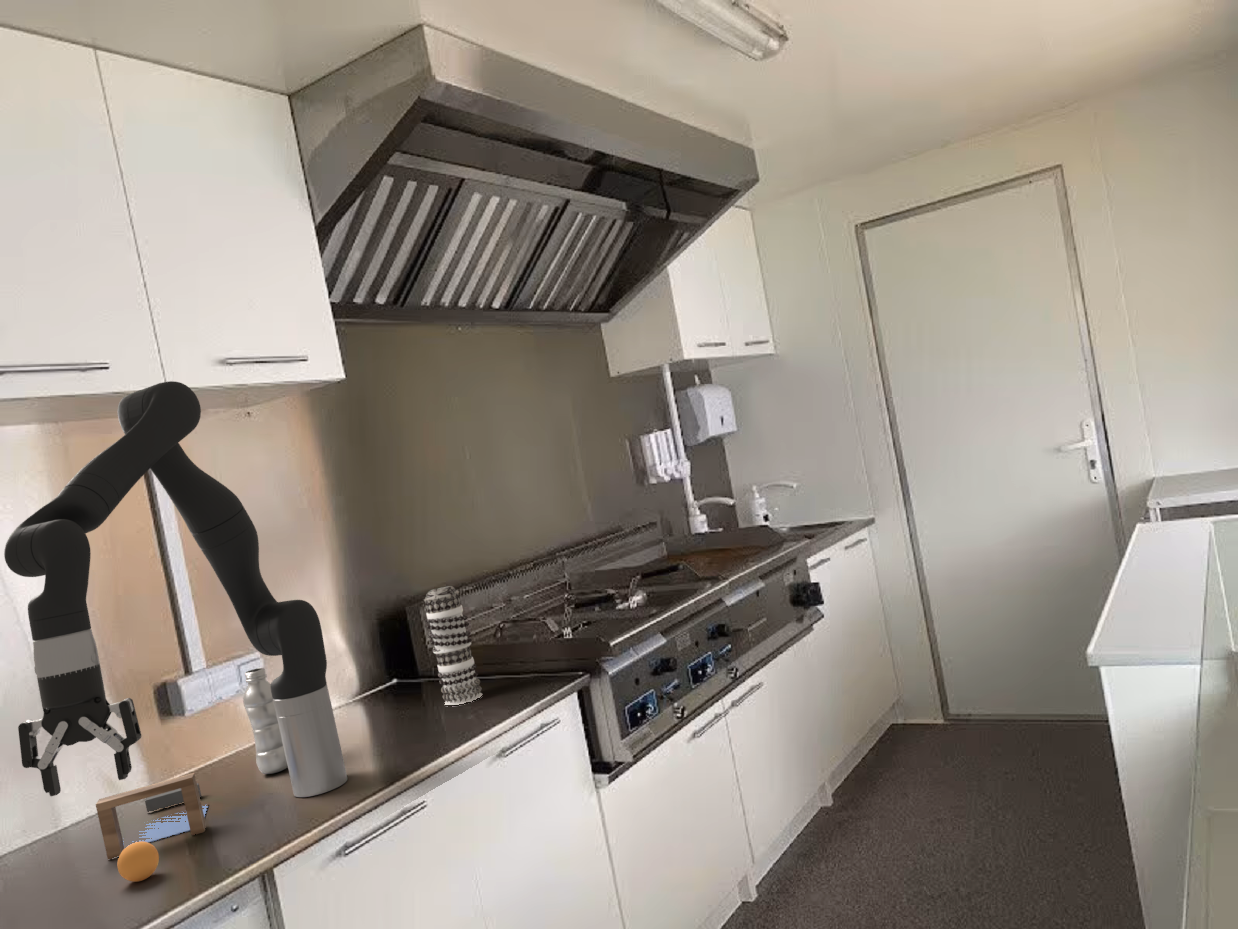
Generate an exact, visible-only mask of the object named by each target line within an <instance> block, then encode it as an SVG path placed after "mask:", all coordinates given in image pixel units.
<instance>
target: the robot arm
mask: <svg viewBox="0 0 1238 929" xmlns="http://www.w3.org/2000/svg"><path fill="white" fill-rule="evenodd" d="M117 406H118V407H117V417H118V419H117V420H118V422H119V425H120V428H121V430H122V431H123V434H124V435H122V436H121V437H120V438H119V439H118V440H116V441H115V442H114V443H113V444H111V445H110V446H109V447H107V448H106V449H104V450H103V451H101V452H100V453H98V454H97V455H96V456H94V457H93V458H92V459H91V460H90V461H89V462H87V463H86V464H85V465H84V466H82V468H80V469H79V471H77V473H76V474H75V475H74V476H73V477H72V478H71V479H70V480H69V481H68V482H67V483H66V484H65V486H64V487H63V489H61V490H60V492H59V493H58V495H56V496H55V498H53V499H51V501H49V502H48V503H46V504H45V505H44V506H42V507H40V508H39V509H38V510H37V511H35V512H34V513H33V514H31V515H30V516H28V517H27V518H26V519H25V520H24V521H22V522H21V523H20V524H19V525H18V526H17V527H16V528H15V529H14V530H13V532H11V534H10V535H9V537H8V538H7V540H6V543H5V546H4V551H3V552H4V553H3V555H4V556H3V557H4V561H5V564H6V566H7V567H8V569H9V570H11V572H13V573H14V574H16V575H18V576H21V577H25V578H37V577H42V576H45V577H44V586H43V589H42V590H43V591H42V592H41V593H40V594H38V595H36V596H34V597H33V598H31V599H30V600H29V602H28V603H27V604H28V605H27V615H28V622H29V627H30V632H31V639H32V645H33V646H32V647H33V661H34V673H35V675H36V679H37V680H36V681H37V686H38V691H39V696H40V702H41V707H42V708H41V709H42V711H43V716H42V718H41V719H34V720H33V719H26V720H25V721H23V722H21V723H20V724H19V725H18V727H17V730H18V739H19V748H20V758H21V765H22V767H23V768H25V769H29V768H35V769H38V770H39V771H40V775H41V780H42V787H43V791H44V792H45V793H46V794H49V797H55V796H58V794H60V793H61V791H62V790H61V785H60V783H61V782H60V777H59V771H58V766H57V764H54V763H55V760H56V758H57V756H58V755H59V753H60V751H61V750H62V748H63V747H64V746H67V747H68V746H73V745H76V744H77V743H87V742H91V741H93V740H94V739H97V740H99V741H101V742H102V743H103V744H106V745H107V746H109V747H110V748H111V749H112V750H114V753H113V757H114V763H115V768H116V773H117V778H118V781H123V780H125V779H127V778H128V776H129V774H130V772H132V767H133V766H132V762H131V756H130V750H129V749H130V747H131V746H132V745H135V743H137V742H138V741H139V740H140V739H142V731H141V728H140V725H139V724H140V723H139V720H138V716H137V712H136V707H135V704H134V701H133V699H132V698H130V697H128V698H125V699H123V700H121V701H117V702H114V703H111V704H110V702H108V700H107V696H106V690H105V684H104V680H103V675H102V669H101V663H100V658H99V653H98V647H97V642H96V639H95V637H94V635H93V631H92V625H91V624H92V623H91V619H90V613H89V608H88V604H87V596H88V587H89V577H90V567H91V546H90V541H89V538H88V535H87V533H91V532H93V531H95V530H96V529H98V528H99V527H100V526H101V525H102V524H104V522H105V521H106V520H107V518H108V517H110V515H111V514H112V513H113V512H114V510H115V509H116V508H117V506H118V505H119V504H120V503H121V501H123V499H124V498H125V496H126V495H127V494H128V493H129V492H130V491H131V489H132V488H133V487H134V486H135V485H136V484H137V482H139V480H141V478H142V477H143V476H144V475H145V474H146V473H147V472H148V471H149V470H151V472H152V473H153V476H155V478H156V479H157V480H158V482H159V483H160V485H161V487H162V488H163V489H164V491H165V493H166V494H167V496H168V497H169V499H170V500H171V502H172V504H173V505H174V507H175V509H176V510H177V511H178V513H179V514H180V516H181V518H182V519H183V521H184V523H185V525H186V527H187V529H188V531H189V532H190V534H191V536H192V538H193V539H194V541H195V542H196V543H197V545H198V547H199V549H200V550H201V552H202V553H203V555H204V557H205V559H207V561H208V563H209V564H210V566H211V568H212V569H213V572H214V573H215V575H216V576H217V578H218V580H219V582H220V584H221V585H222V587H223V589H224V590H225V592H226V594H227V597H228V598H229V600H230V602H231V604H232V606H233V608H234V610H235V613H236V615H237V617H238V619H239V621H240V623H241V627H242V628H243V630H244V632H245V634H246V636H247V639H248V640H249V642H250V644H251V645H252V646H253V648H254V649H255V650H256V651H258V653H260V654H262V655H264V656H270V657H271V656H272V657H274V656H275V657H276V656H281V658H282V659H281V660H282V666H283V667H282V672H281V674H279V676H278V677H276V678H275V679H273V680H272V681H271V683H270V684H271V693H272V698H273V702H274V707H275V711H276V715H277V720H278V724H279V729H280V733H281V738H282V743H283V747H284V752H285V756H286V761H287V765H288V768H287V769H288V774H289V778H290V782H291V789H292V793H293V796H294V797H297V798H307V797H313V796H317V795H321V794H324V793H327V792H330V791H332V790H335V789H337V788H339V787H340V786H341V787H342V785H344V784H345V783H346V782H347V781H348V776H347V770H346V765H345V762H344V756H343V751H342V747H341V741H340V738H339V733H338V728H337V723H336V720H335V719H336V718H335V715H334V709H333V706H332V702H331V698H330V692H329V689H328V687H329V686H328V682H327V676H326V675H327V674H326V673H327V667H328V666H327V664H328V662H327V654H326V648H325V643H324V638H323V637H324V636H323V630H322V626H321V621H320V617H319V616H318V613H317V611H316V610H315V608H314V606H313V605H312V604H311V603H310V602H308V601H306V600H302V599H291V600H284V601H277V600H276V598H275V597H274V596H273V593H271V591H270V590H269V588H268V586H267V584H266V583H265V581H264V578H263V577H262V573H261V569H260V547H259V546H260V545H259V544H260V543H259V537H258V531H257V529H256V527H255V525H254V522H253V520H252V519H251V516H250V515H249V514H248V512H247V510H246V508H245V506H244V505H243V504H242V502H241V500H240V498H239V497H238V496H237V494H235V493H234V492H233V491H232V490H231V489H229V488H228V487H227V486H225V485H224V484H223V483H221V482H220V481H219V480H217V479H216V478H215V477H212V476H211V475H210V474H208V473H206V472H205V470H203V469H201V468H200V467H199V466H197V465H196V463H194V462H193V461H192V460H191V459H190V457H189V456H188V455H187V453H186V452H185V450H184V449H183V448H182V446H181V445H180V444H181V443H180V442H181V441H183V439H185V438H186V437H187V436H189V434H191V433H192V432H193V431H194V430H195V429H196V428H197V426H199V422H200V419H201V413H202V409H201V408H202V407H201V404H200V400H199V398H198V397H197V395H196V393H195V391H193V389H191V387H189V386H188V385H186V384H184V383H182V382H179V381H173V380H172V381H171V380H170V381H163V382H159V383H156V384H153V385H151V386H148V387H145V388H143V389H139V390H137V391H134V392H132V393H129V394H126V395H125V396H124V397H122V398H121V400H120V401H119V403H118V405H117ZM112 713H114V714H115V716H116V717H117V718H119V719H121V722H122V724H123V728H124V733H125V737H124V736H122V734H120V733H118V730H116V728H115V727H114V726H112V725H111V724H110V723H108V720H109V718H110V717H111V714H112ZM41 729H43V730H44V731H46V732H47V733H48V734H49V735H50V736H51V738H50V739H49V741H48V743H47V745H46V747H45V748H44V752H43V754H42V755H41V756H40V755H39V751H38V742H37V741H38V740H37V736H39V734H40V733H41Z"/></svg>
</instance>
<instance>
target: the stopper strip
mask: <svg viewBox="0 0 1238 929" xmlns="http://www.w3.org/2000/svg"><path fill="white" fill-rule="evenodd" d="M199 783H200V782H197V787H198V791H199V796H200V797H201V798H202V792H201V787H200V784H199ZM144 799H145V800H144V802H145V808H146V813H147V812H149V811H154V810H157V809H159V808H165V807H168V806H171V805H174V804H179V803H182V802H184V800H183V795H182V791H181V788H180V789H176V790H173V791H169V792H166V793H162V794H158V795H155V796H151V797H148V798H144Z"/></svg>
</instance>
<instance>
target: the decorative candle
mask: <svg viewBox="0 0 1238 929" xmlns="http://www.w3.org/2000/svg"><path fill="white" fill-rule="evenodd" d="M459 593H460V590H457V589H456V588H455V587H454V586H452V585H447V586H441V587H437V588H434V589H431V590H429V591H427V593H426V595H425V598H423V599H422V601H424V606H425V611H426V612H425V615H426V617H425V618H424V621H425V622H426V624H425V626H424V627H426V628H427V630H429V631H428V633H427V635H428V636H429V638H430V640H429V643H430V644H431V645H432V646H433V647H432V650H431V651H432V653H433V654H435V657H436V661H437V665H436V666H437V670H438V673H437V677H438V678H439V679H440V680H439V681H438V683H439V685H441V686H442V687H441V688H440V692H441V693H442V694H443V695H442V699H443V700H444V701H445V702H444V703H445V704H444V706H445V705H459V704H464V703H466V702H471V703H473V702H474V701H473V700H476V699H477V698H480V697H481V696H482V695H483V693H482V687H481V685H480V683H481V680H480V679H479V678H478V677H477V676H478V675H479V671H477V670H476V669H477V668H478V665H477V664H475V659H474V656H473V655H472V650H471V645H472V640H473V639H472V638H470V637H469V636H470V635H471V632H470V631H468V630H467V628H468V627H469V625H470V623H469V622H467V621H466V620H467V619H468V615H466V614H463V612H464V608H463V605H462V603H461V598H460V596H459V595H460V594H459ZM482 697H483V696H482ZM482 697H481V698H482ZM481 698H480V699H481ZM472 701H473V702H472ZM476 701H477V700H476ZM464 705H465V704H464ZM459 706H460V705H459Z"/></svg>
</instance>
